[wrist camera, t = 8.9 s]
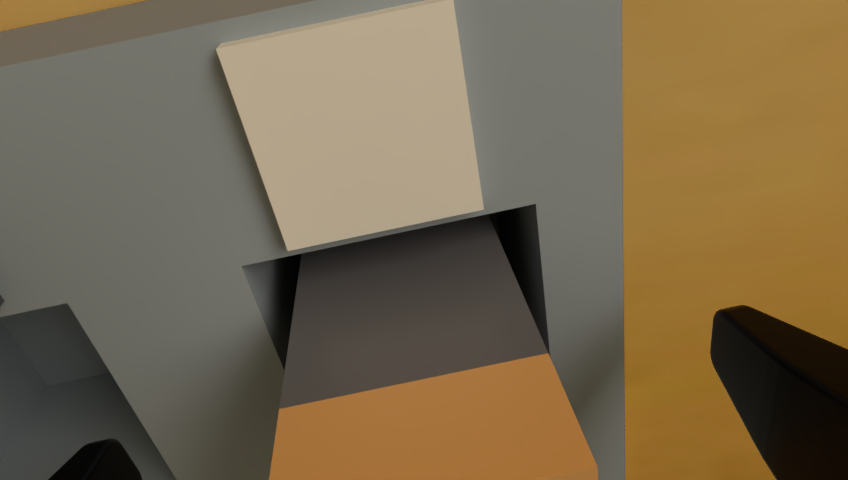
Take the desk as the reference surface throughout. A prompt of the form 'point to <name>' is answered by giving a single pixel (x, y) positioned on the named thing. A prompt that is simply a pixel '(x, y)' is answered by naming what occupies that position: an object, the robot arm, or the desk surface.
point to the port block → (285, 204)
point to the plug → (421, 367)
